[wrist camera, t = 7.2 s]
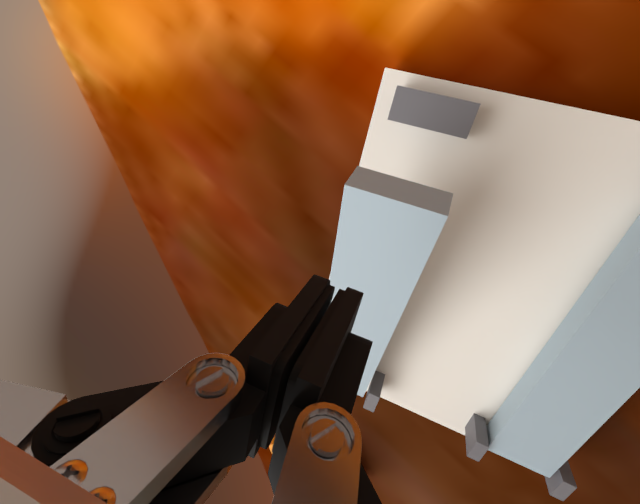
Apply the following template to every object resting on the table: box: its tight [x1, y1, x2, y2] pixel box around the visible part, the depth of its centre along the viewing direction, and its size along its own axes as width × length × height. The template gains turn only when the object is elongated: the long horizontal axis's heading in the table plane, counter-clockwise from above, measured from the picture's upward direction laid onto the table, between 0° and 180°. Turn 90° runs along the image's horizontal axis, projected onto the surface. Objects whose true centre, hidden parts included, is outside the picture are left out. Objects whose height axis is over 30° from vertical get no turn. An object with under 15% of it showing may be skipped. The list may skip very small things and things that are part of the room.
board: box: [329, 68, 640, 501], centre depth 25 cm, size 28×24×6 cm
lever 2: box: [486, 214, 640, 478], centre depth 22 cm, size 22×5×2 cm, turn 168°
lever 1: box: [330, 166, 453, 397], centre depth 23 cm, size 22×5×2 cm, turn 168°
